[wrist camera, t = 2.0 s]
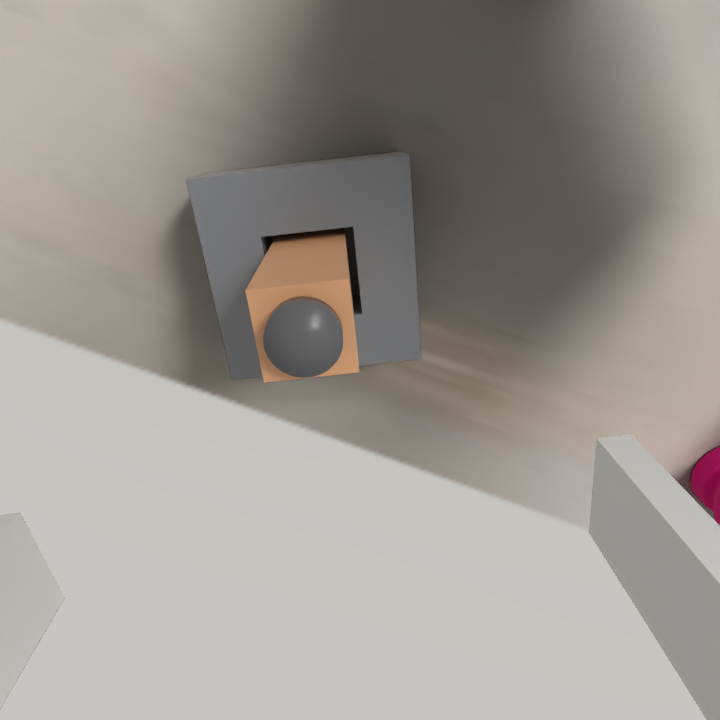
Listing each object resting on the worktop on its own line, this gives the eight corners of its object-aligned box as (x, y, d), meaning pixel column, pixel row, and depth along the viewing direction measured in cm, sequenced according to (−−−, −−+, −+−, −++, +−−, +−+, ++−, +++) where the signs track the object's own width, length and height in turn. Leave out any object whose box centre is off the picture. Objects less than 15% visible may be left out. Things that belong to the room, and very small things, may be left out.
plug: (278, 231, 32) (241, 297, 20) (344, 224, 32) (349, 285, 20) (289, 295, 34) (260, 393, 21) (351, 288, 34) (360, 382, 21)
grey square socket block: (207, 172, 32) (186, 179, 27) (399, 151, 32) (409, 154, 27) (244, 348, 37) (231, 379, 32) (410, 330, 37) (421, 359, 32)
